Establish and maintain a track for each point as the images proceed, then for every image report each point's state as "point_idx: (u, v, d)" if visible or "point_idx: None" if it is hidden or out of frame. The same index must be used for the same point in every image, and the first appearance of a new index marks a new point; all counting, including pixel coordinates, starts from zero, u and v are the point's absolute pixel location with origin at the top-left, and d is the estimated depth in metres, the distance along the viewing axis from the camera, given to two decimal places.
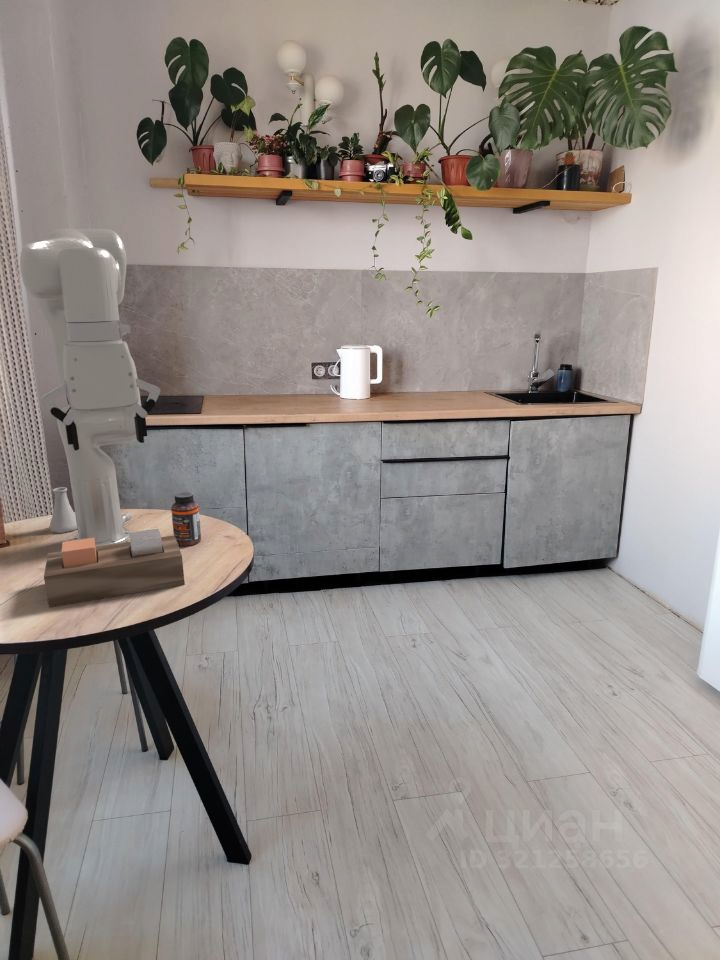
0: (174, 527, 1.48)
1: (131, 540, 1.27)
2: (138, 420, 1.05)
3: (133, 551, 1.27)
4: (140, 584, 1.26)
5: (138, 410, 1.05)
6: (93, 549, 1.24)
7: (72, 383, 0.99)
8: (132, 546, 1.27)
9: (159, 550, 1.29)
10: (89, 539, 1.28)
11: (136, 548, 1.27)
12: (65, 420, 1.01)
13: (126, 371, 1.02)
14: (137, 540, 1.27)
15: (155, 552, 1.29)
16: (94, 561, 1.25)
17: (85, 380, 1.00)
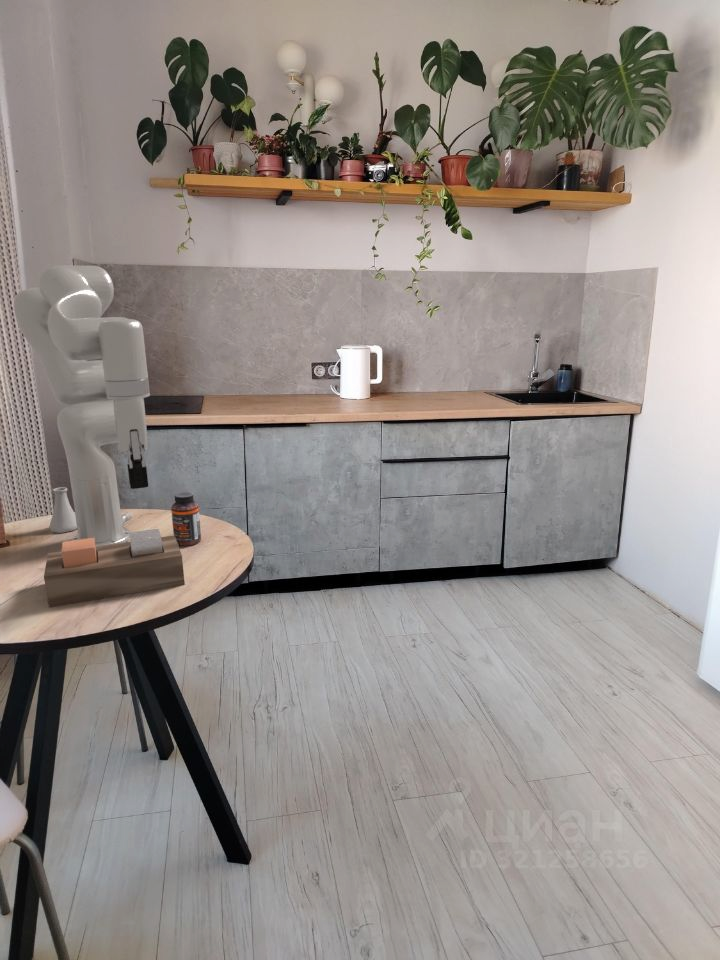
0: (174, 527, 1.48)
1: (131, 540, 1.27)
2: None
3: (133, 551, 1.27)
4: (140, 584, 1.26)
5: None
6: (93, 549, 1.24)
7: (145, 428, 1.21)
8: (132, 546, 1.27)
9: (159, 550, 1.29)
10: (89, 539, 1.28)
11: (136, 548, 1.27)
12: (143, 464, 1.24)
13: None
14: (137, 540, 1.27)
15: (155, 552, 1.29)
16: (94, 561, 1.25)
17: None
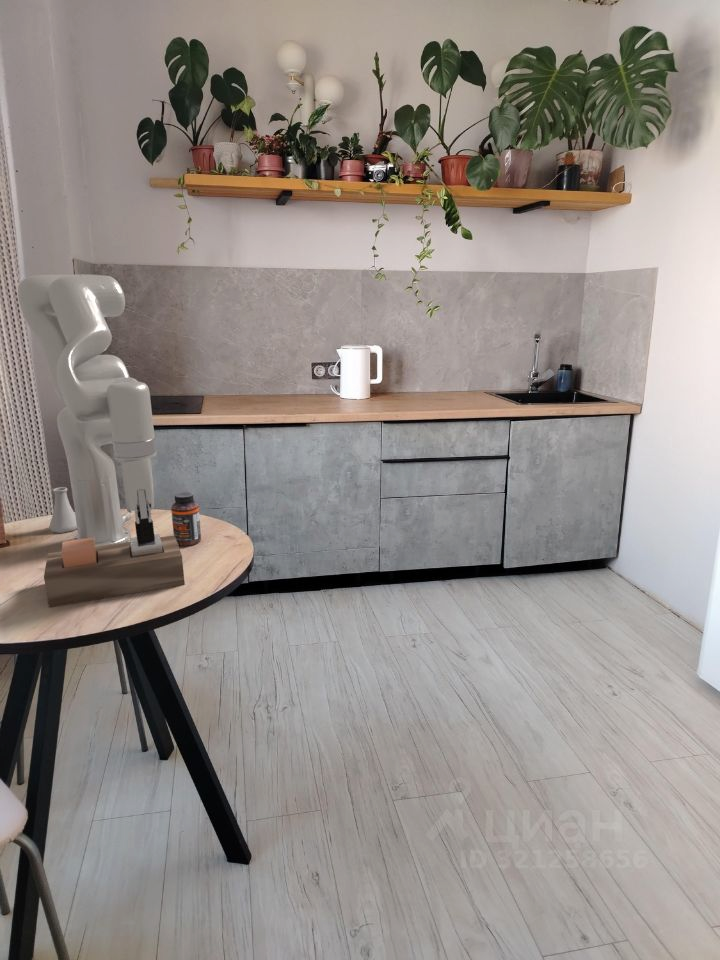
0: (174, 527, 1.48)
1: (132, 546, 1.28)
2: None
3: None
4: (140, 584, 1.26)
5: None
6: (93, 549, 1.24)
7: (152, 488, 1.24)
8: (133, 552, 1.27)
9: None
10: (89, 539, 1.28)
11: (137, 554, 1.27)
12: (150, 520, 1.28)
13: None
14: (138, 546, 1.27)
15: None
16: (94, 561, 1.25)
17: None
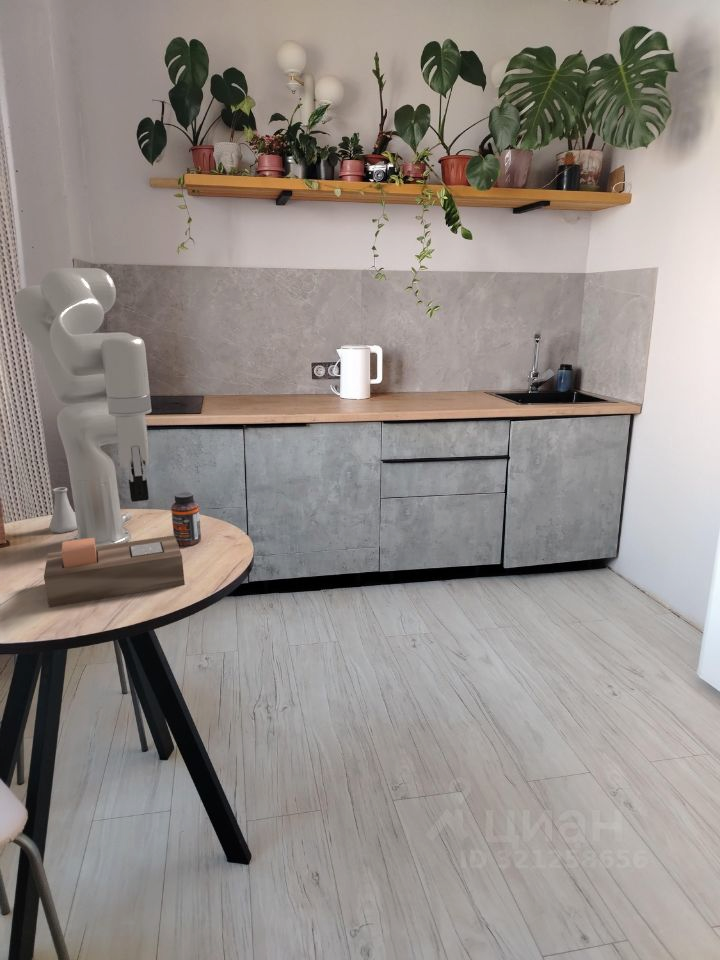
0: (174, 527, 1.48)
1: (133, 554, 1.28)
2: (146, 480, 1.28)
3: None
4: (140, 584, 1.26)
5: None
6: (93, 549, 1.24)
7: (147, 445, 1.22)
8: None
9: None
10: (89, 539, 1.28)
11: None
12: (144, 478, 1.26)
13: None
14: (139, 554, 1.28)
15: None
16: (94, 561, 1.25)
17: (147, 441, 1.24)
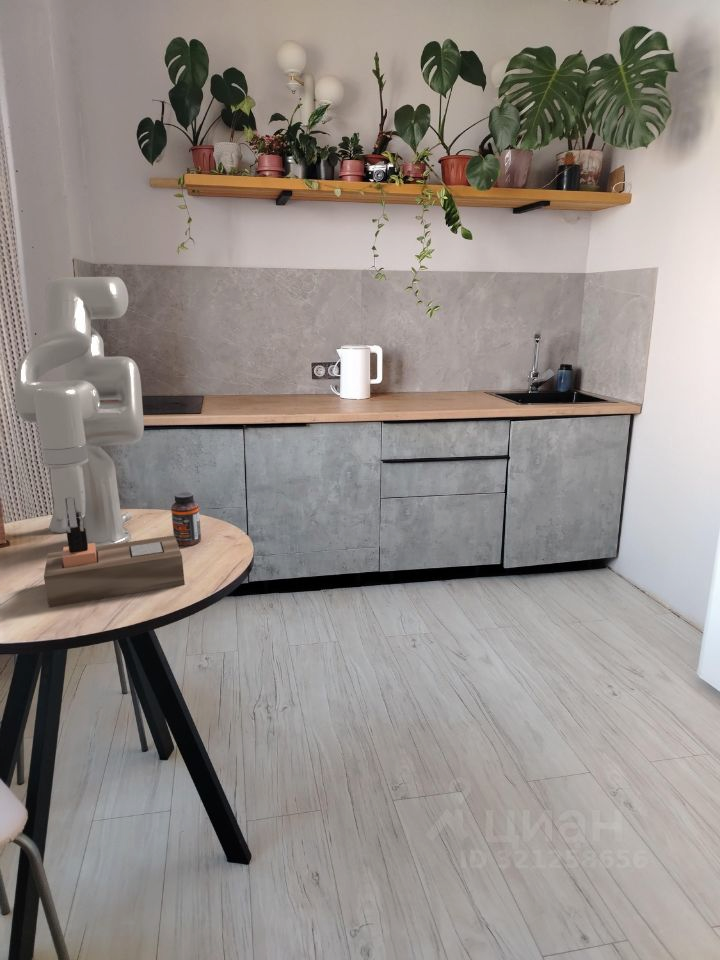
0: (174, 527, 1.48)
1: (133, 554, 1.28)
2: (85, 530, 1.26)
3: None
4: (140, 584, 1.26)
5: None
6: (94, 554, 1.24)
7: (82, 496, 1.20)
8: None
9: None
10: (89, 544, 1.29)
11: None
12: (82, 529, 1.24)
13: None
14: (139, 554, 1.28)
15: None
16: None
17: (83, 491, 1.21)
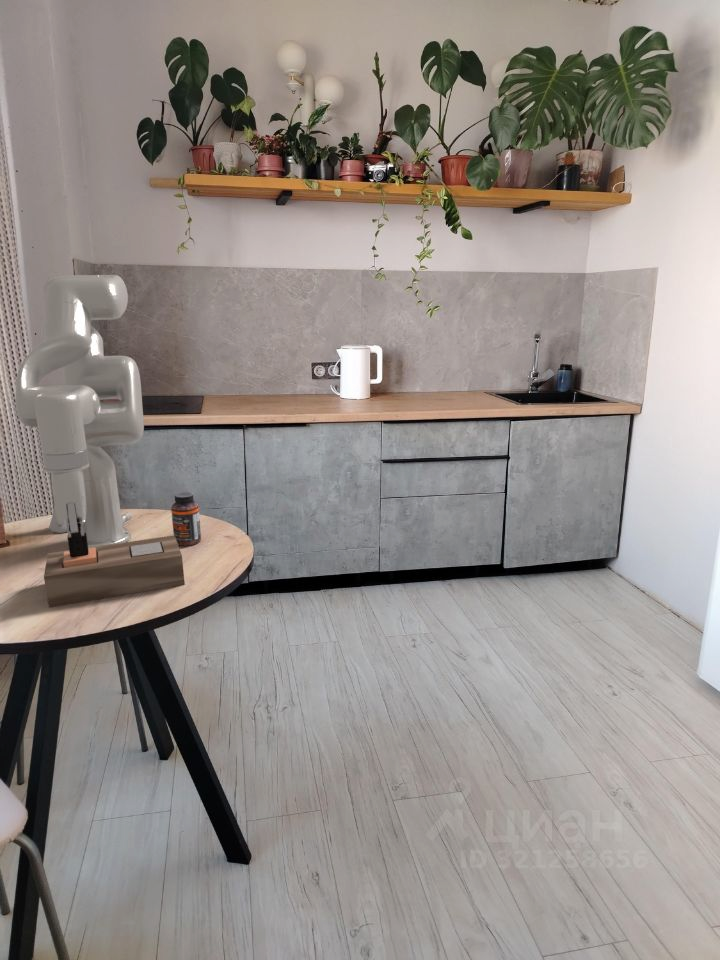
0: (174, 527, 1.48)
1: (133, 554, 1.28)
2: (85, 534, 1.26)
3: None
4: (140, 584, 1.26)
5: (83, 526, 1.26)
6: (94, 559, 1.25)
7: (83, 501, 1.20)
8: None
9: None
10: (90, 548, 1.29)
11: None
12: (82, 533, 1.24)
13: None
14: (139, 554, 1.28)
15: None
16: None
17: (84, 496, 1.22)
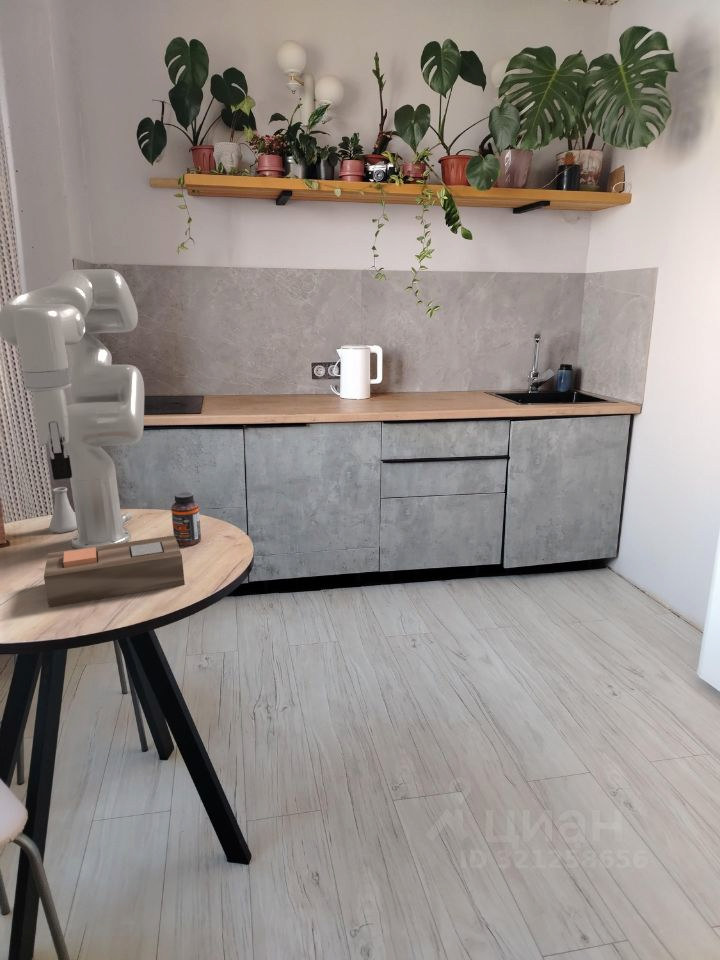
0: (174, 527, 1.48)
1: (133, 554, 1.28)
2: (68, 457, 1.24)
3: None
4: (140, 584, 1.26)
5: (66, 449, 1.24)
6: (94, 559, 1.25)
7: (65, 420, 1.18)
8: None
9: None
10: (90, 549, 1.29)
11: None
12: (66, 455, 1.22)
13: None
14: (139, 554, 1.28)
15: None
16: None
17: (67, 416, 1.20)
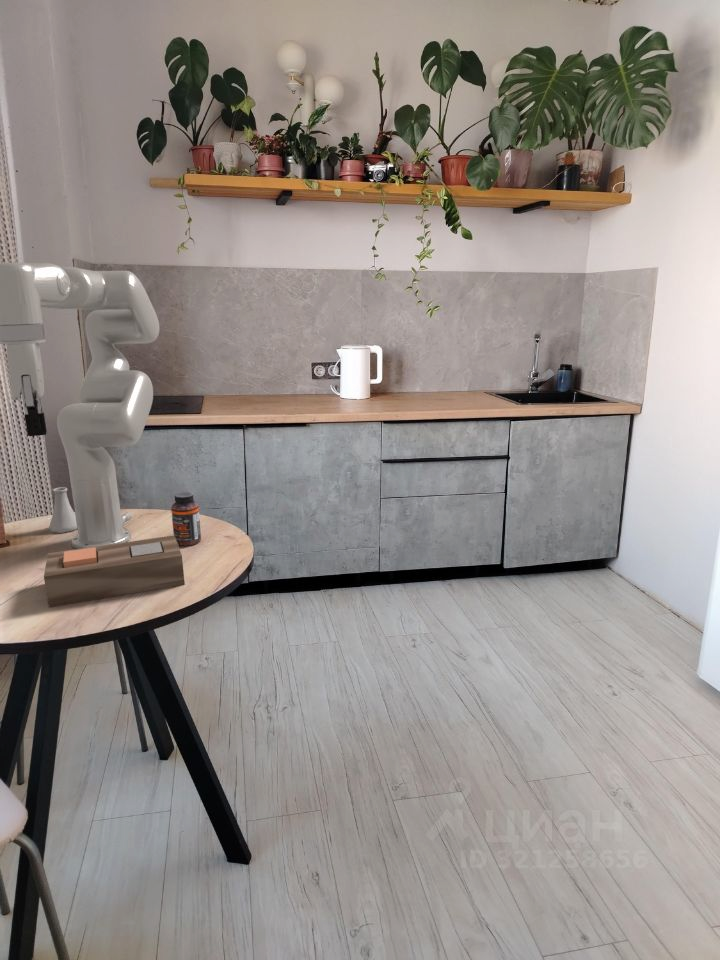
0: (174, 527, 1.48)
1: (133, 554, 1.28)
2: (43, 414, 1.25)
3: None
4: (140, 584, 1.26)
5: (41, 406, 1.25)
6: (94, 559, 1.25)
7: (38, 374, 1.19)
8: None
9: None
10: (90, 549, 1.29)
11: None
12: (40, 411, 1.23)
13: None
14: (139, 554, 1.28)
15: None
16: None
17: (40, 371, 1.21)
